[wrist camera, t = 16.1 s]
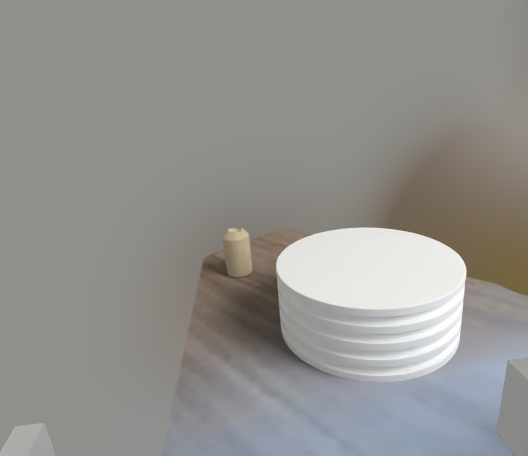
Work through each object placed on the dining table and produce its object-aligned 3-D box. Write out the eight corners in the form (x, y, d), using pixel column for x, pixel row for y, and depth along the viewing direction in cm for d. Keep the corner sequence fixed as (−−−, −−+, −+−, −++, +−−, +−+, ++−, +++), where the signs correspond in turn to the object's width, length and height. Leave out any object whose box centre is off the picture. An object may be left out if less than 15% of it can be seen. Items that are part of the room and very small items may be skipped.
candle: (251, 265, 91) (246, 222, 88) (253, 276, 86) (249, 232, 83) (226, 268, 91) (221, 226, 87) (227, 279, 86) (221, 235, 82)
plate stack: (461, 403, 50) (470, 324, 46) (254, 360, 61) (246, 292, 57) (457, 292, 74) (463, 233, 70) (308, 275, 85) (306, 223, 81)
